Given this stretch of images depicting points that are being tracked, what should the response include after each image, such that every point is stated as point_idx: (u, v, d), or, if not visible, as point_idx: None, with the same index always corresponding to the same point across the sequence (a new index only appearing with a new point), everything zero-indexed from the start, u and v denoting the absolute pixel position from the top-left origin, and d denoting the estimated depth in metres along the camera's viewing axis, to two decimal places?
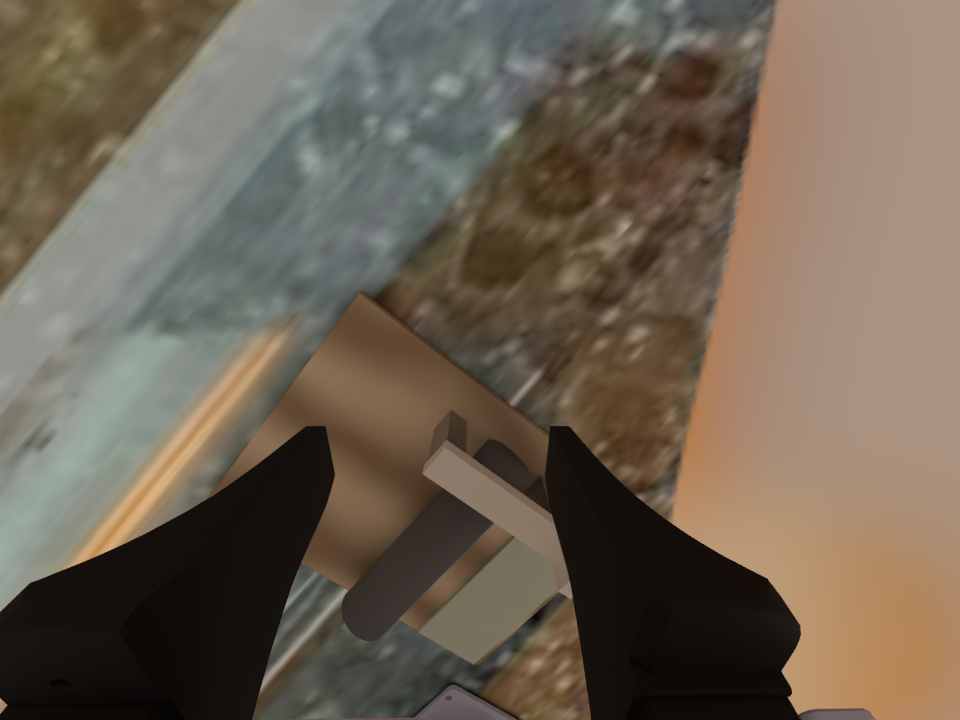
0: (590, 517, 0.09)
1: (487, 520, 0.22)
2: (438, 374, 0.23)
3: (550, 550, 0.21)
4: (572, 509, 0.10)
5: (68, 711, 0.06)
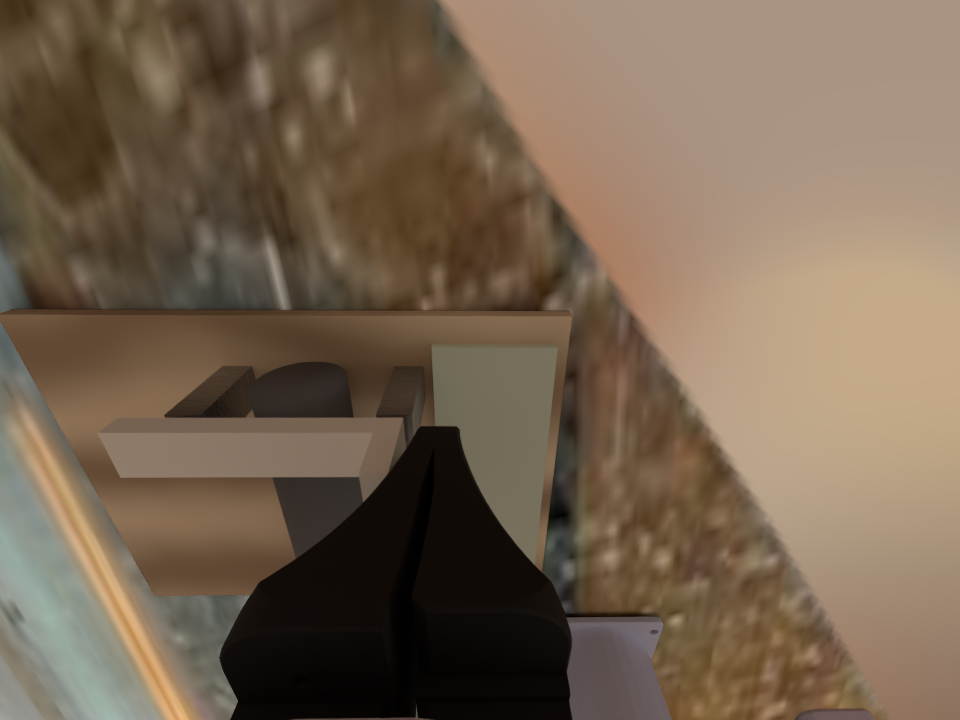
0: None
1: None
2: (164, 337, 0.16)
3: (360, 465, 0.13)
4: None
5: (300, 708, 0.06)
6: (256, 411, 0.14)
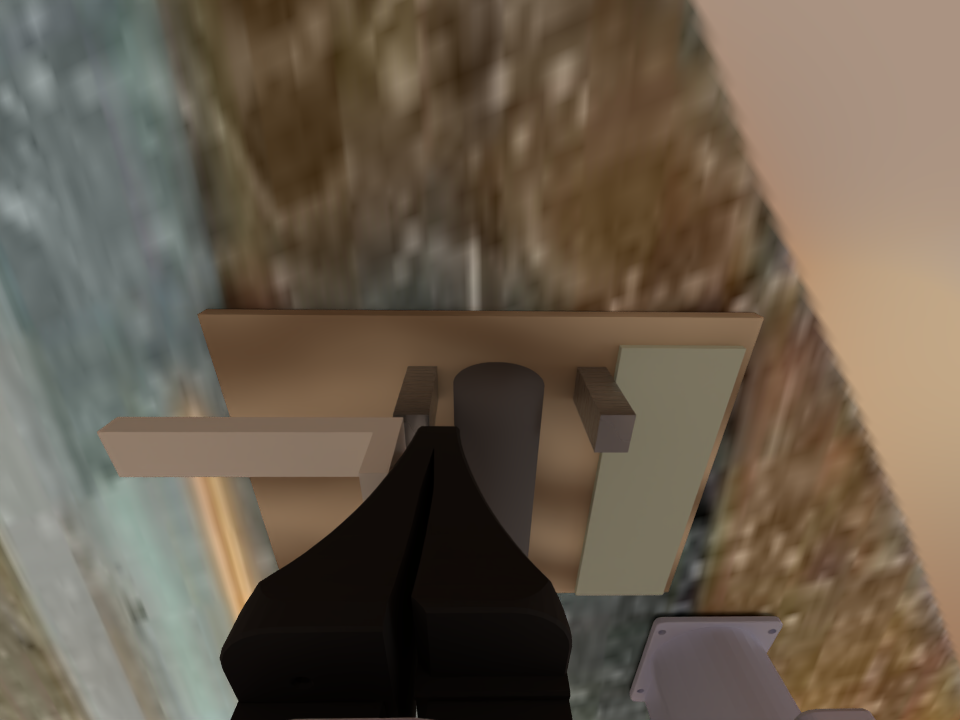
0: None
1: (506, 472, 0.15)
2: (357, 338, 0.16)
3: (360, 464, 0.13)
4: None
5: (301, 708, 0.06)
6: (467, 409, 0.14)
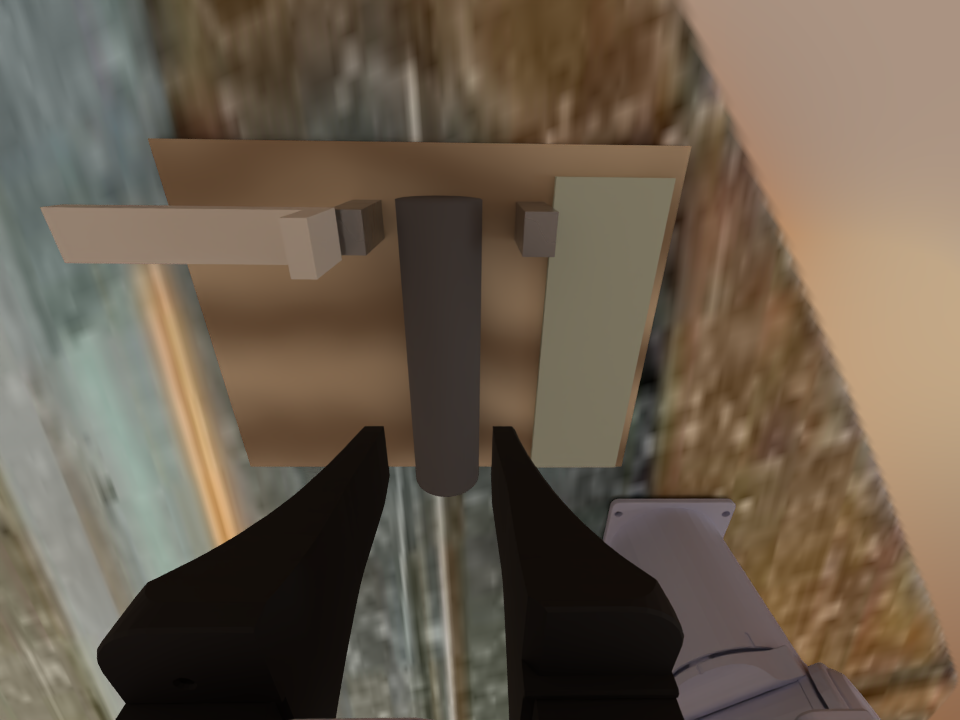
0: (509, 517, 0.09)
1: (450, 282, 0.16)
2: (303, 166, 0.17)
3: None
4: (502, 509, 0.10)
5: (187, 710, 0.06)
6: (408, 213, 0.15)
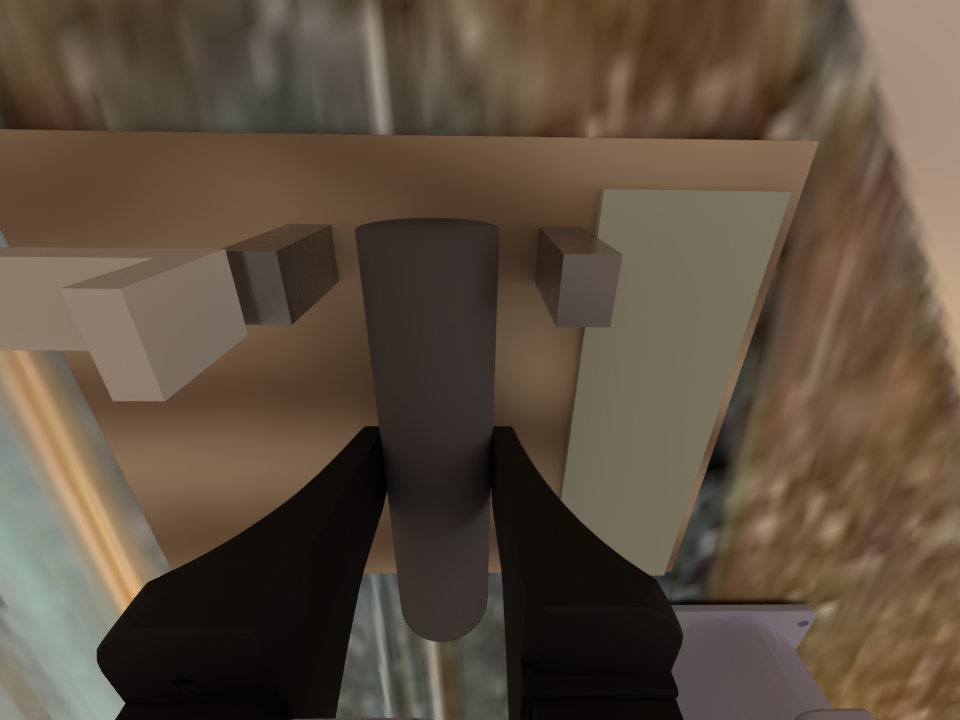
0: (509, 517, 0.09)
1: (457, 362, 0.10)
2: (204, 173, 0.11)
3: None
4: (502, 509, 0.10)
5: (187, 710, 0.06)
6: (384, 257, 0.09)
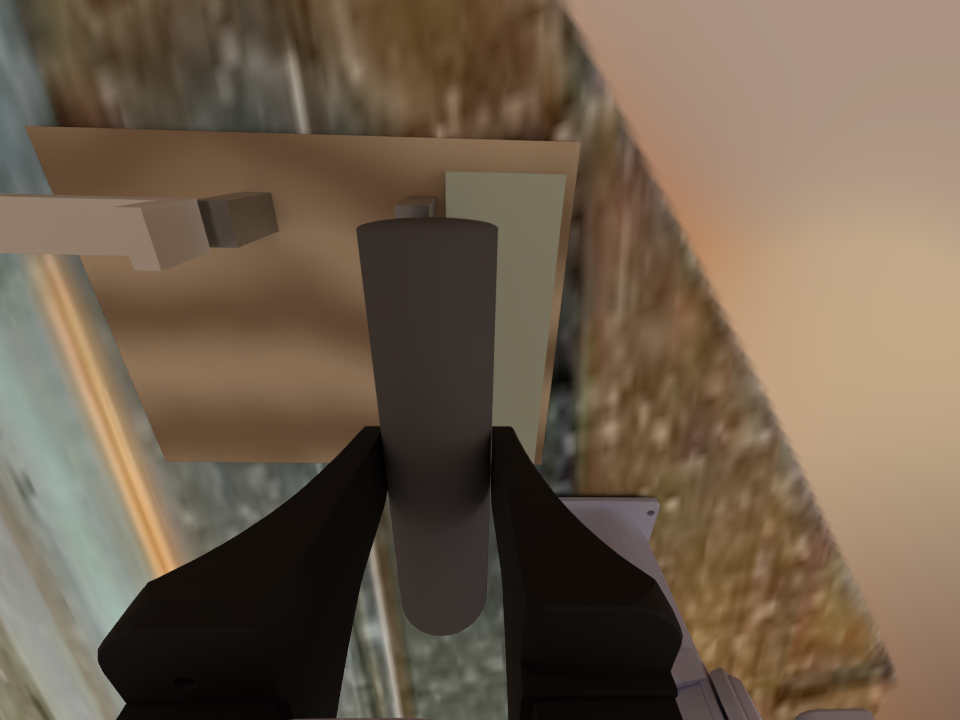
0: (508, 517, 0.09)
1: (461, 357, 0.10)
2: (187, 157, 0.17)
3: None
4: (502, 509, 0.10)
5: (187, 710, 0.06)
6: (390, 257, 0.09)
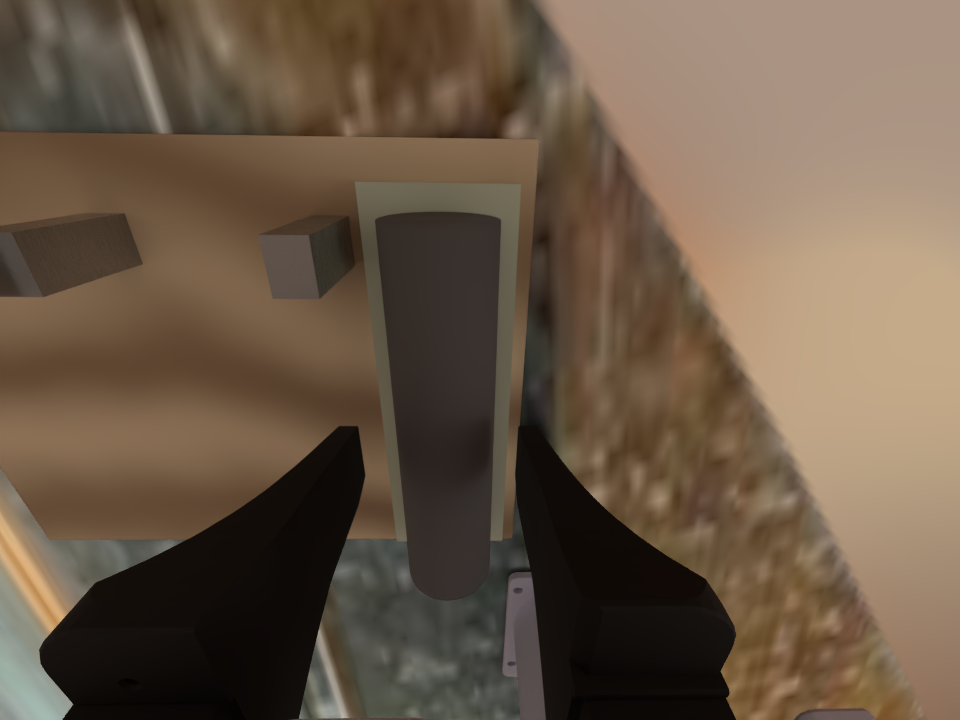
0: (545, 517, 0.09)
1: (473, 335, 0.11)
2: (3, 168, 0.12)
3: None
4: (533, 509, 0.10)
5: (134, 710, 0.06)
6: (412, 245, 0.10)
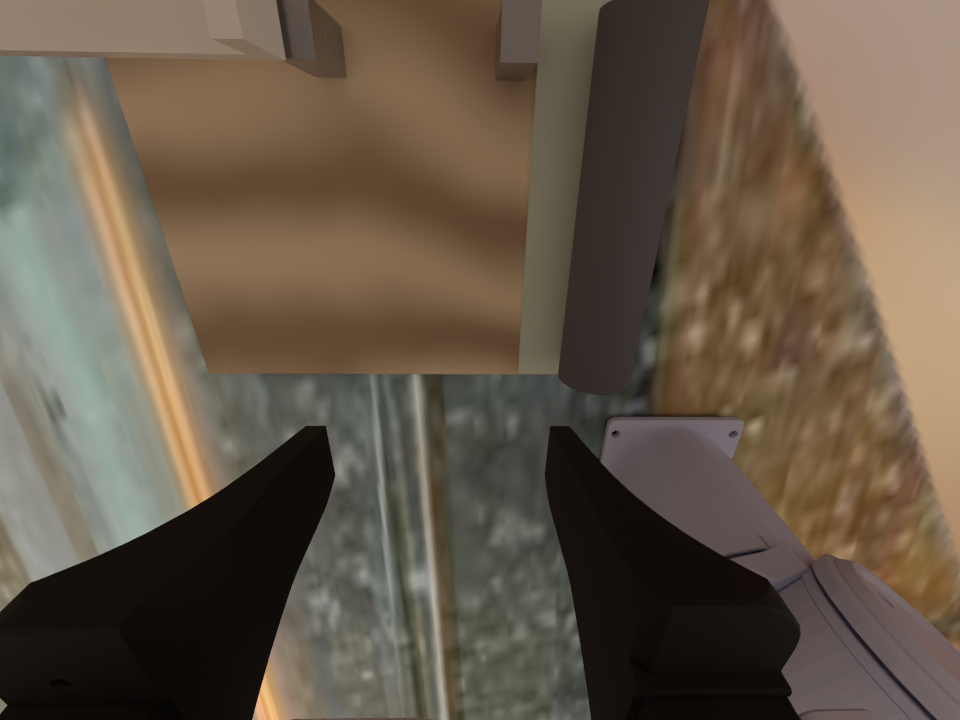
0: (590, 517, 0.09)
1: (686, 107, 0.14)
2: None
3: None
4: (572, 509, 0.10)
5: (68, 711, 0.06)
6: (681, 7, 0.12)
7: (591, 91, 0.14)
